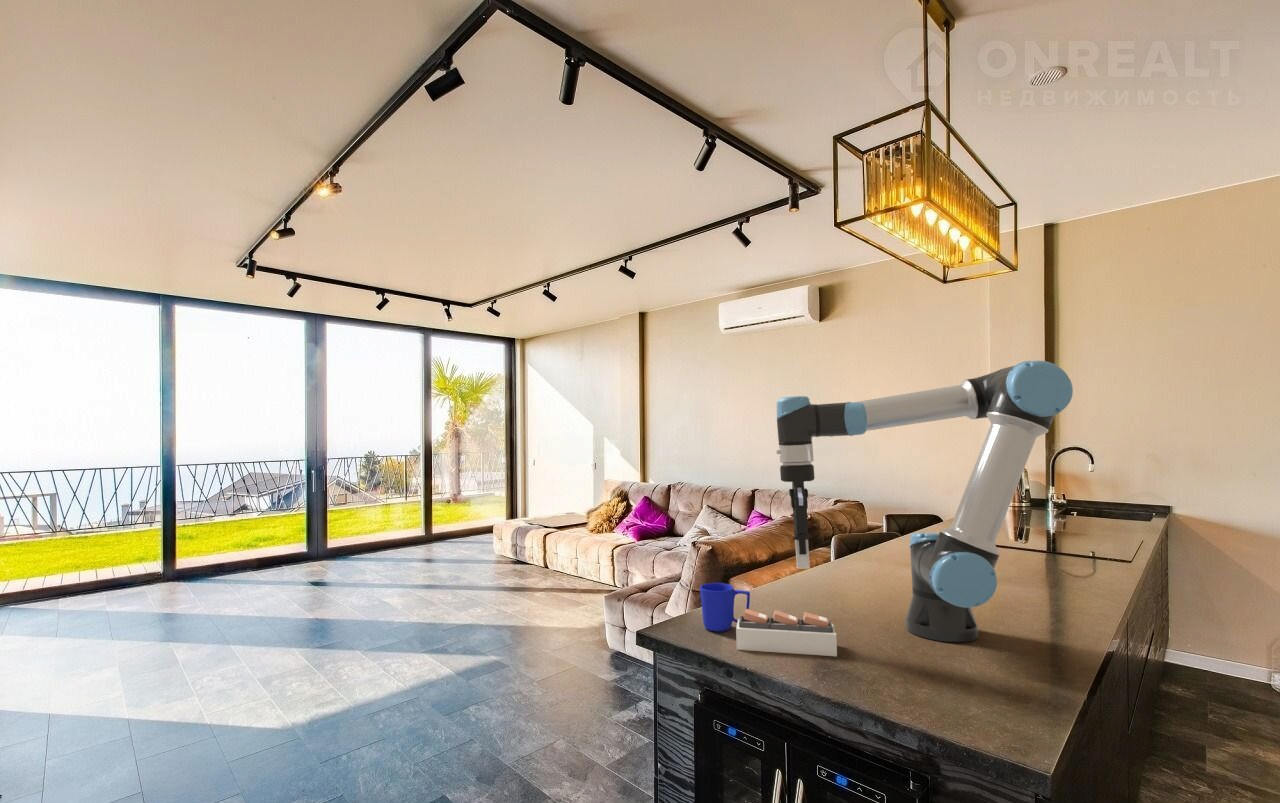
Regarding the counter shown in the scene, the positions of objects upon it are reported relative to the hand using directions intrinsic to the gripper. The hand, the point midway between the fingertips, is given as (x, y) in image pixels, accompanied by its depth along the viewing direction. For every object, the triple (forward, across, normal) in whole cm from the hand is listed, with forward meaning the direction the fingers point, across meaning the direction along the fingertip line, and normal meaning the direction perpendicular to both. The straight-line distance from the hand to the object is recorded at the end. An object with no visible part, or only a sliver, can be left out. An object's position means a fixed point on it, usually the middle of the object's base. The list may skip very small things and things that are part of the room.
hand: (803, 567), depth 130 cm
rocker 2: (+11, +3, -5) cm, 12 cm away
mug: (+16, -7, -19) cm, 26 cm away
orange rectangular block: (+11, +3, +2) cm, 12 cm away
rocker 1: (+11, +3, -11) cm, 16 cm away
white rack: (+17, +3, -5) cm, 18 cm away
